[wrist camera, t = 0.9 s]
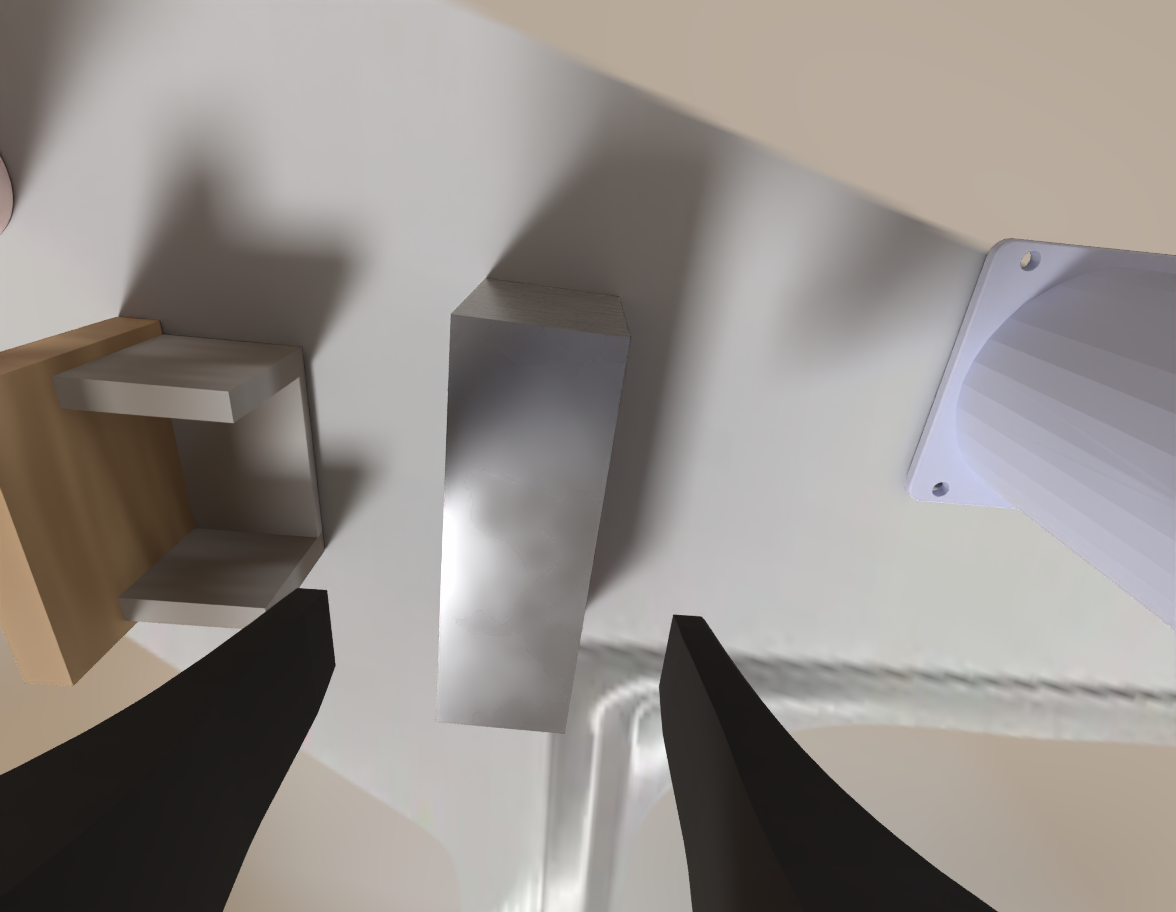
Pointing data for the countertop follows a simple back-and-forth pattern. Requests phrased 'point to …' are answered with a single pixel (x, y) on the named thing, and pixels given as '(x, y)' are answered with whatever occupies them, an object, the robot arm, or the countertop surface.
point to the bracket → (148, 488)
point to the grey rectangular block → (523, 496)
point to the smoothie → (5, 197)
